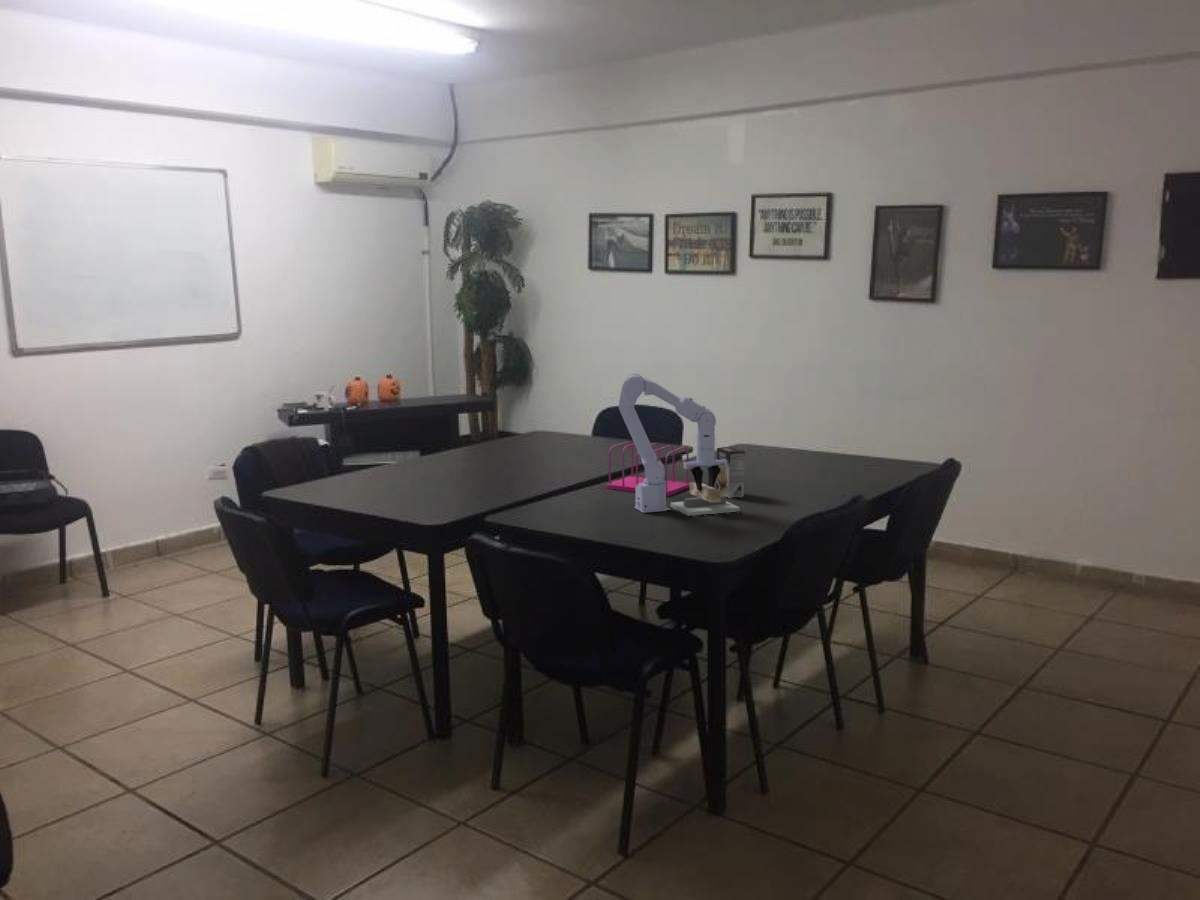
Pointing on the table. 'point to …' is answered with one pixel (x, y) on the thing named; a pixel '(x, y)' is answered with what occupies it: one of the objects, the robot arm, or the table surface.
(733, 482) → the coffee box
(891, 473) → the table surface
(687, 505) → the ridge stand
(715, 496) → the tan wooden block
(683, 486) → the file sorter
